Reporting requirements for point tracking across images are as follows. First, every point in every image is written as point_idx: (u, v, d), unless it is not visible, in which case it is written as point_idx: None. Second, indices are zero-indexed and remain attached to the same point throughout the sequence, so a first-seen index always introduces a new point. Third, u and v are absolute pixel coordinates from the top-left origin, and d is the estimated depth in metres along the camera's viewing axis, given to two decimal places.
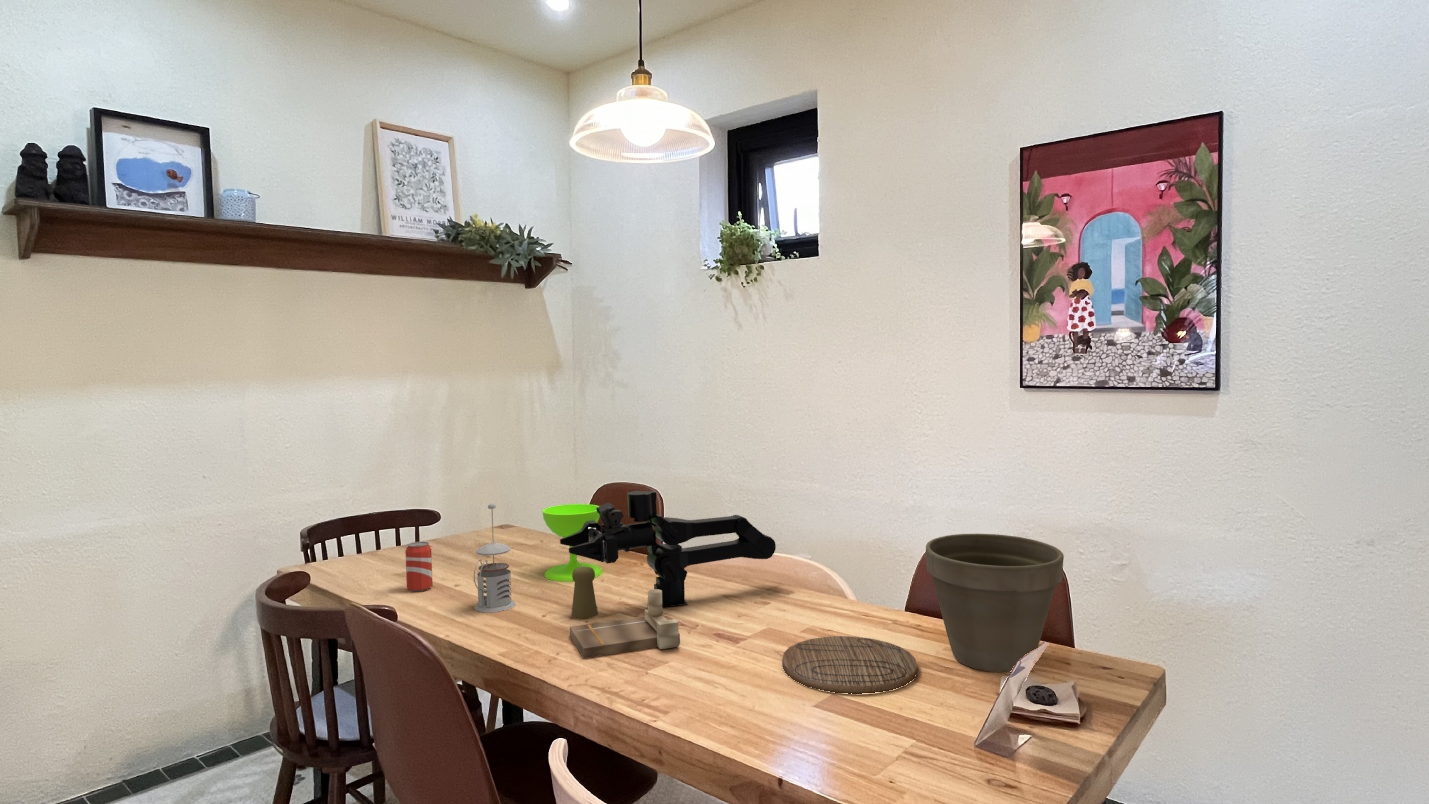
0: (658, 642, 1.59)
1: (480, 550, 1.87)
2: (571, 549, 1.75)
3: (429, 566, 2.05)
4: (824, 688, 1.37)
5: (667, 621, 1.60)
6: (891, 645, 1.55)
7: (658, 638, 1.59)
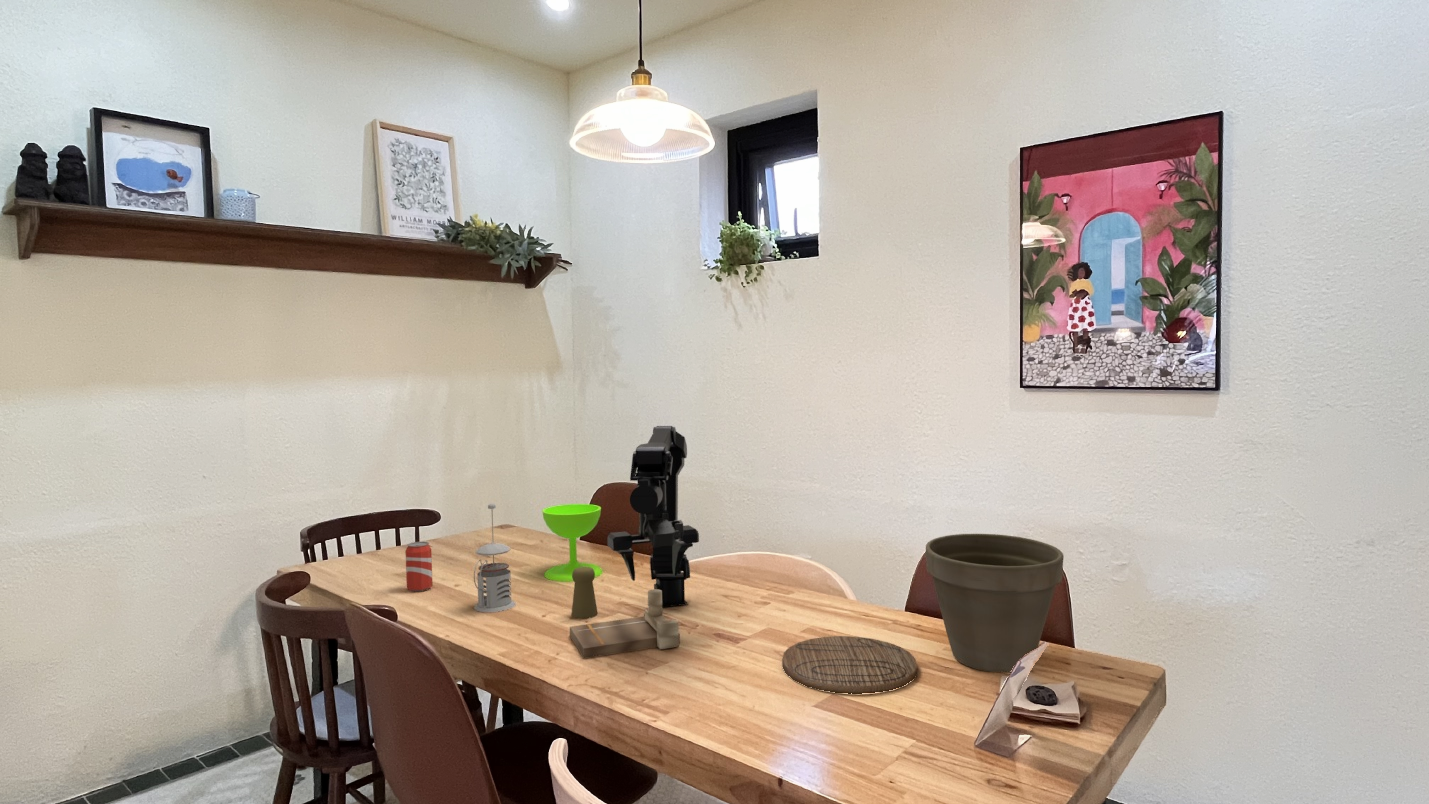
0: (658, 642, 1.59)
1: (480, 550, 1.87)
2: None
3: (429, 566, 2.05)
4: (824, 688, 1.37)
5: (667, 621, 1.60)
6: (891, 645, 1.55)
7: (658, 638, 1.59)
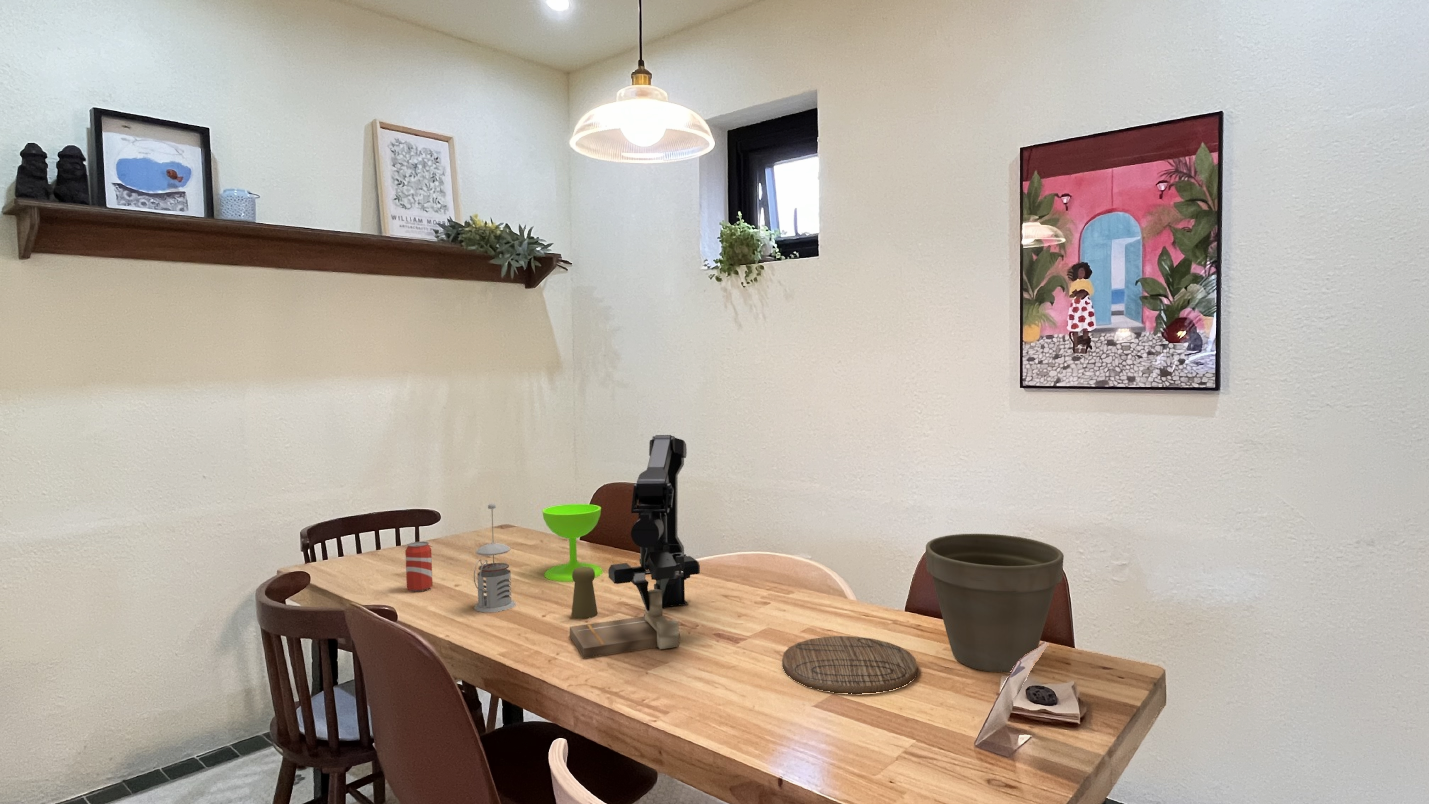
0: (658, 642, 1.59)
1: (480, 550, 1.87)
2: None
3: (429, 566, 2.05)
4: (824, 688, 1.37)
5: (667, 621, 1.60)
6: (891, 645, 1.55)
7: (658, 638, 1.59)
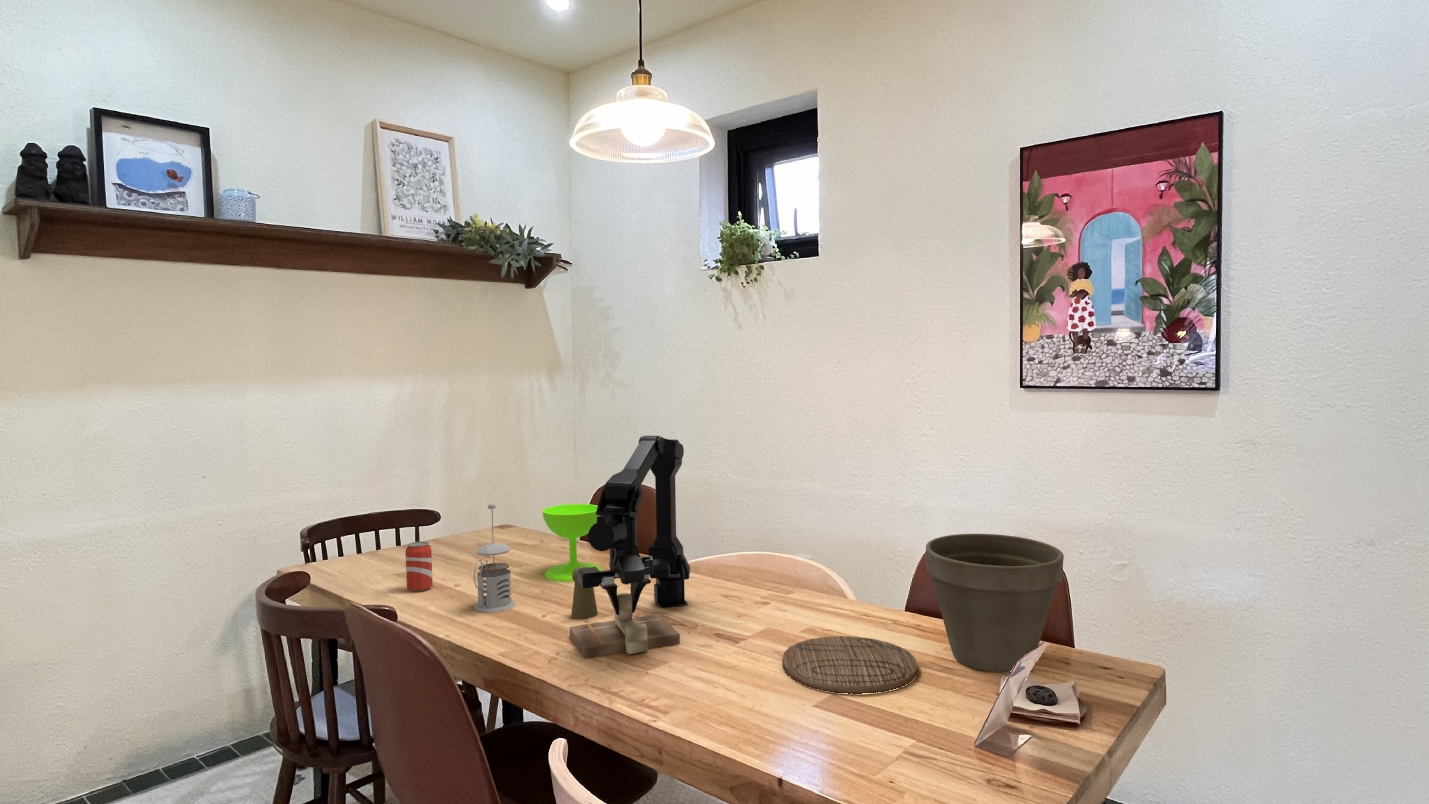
0: (626, 647, 1.57)
1: (480, 550, 1.87)
2: None
3: (429, 566, 2.05)
4: (824, 688, 1.37)
5: (636, 626, 1.58)
6: (891, 645, 1.55)
7: (626, 643, 1.57)
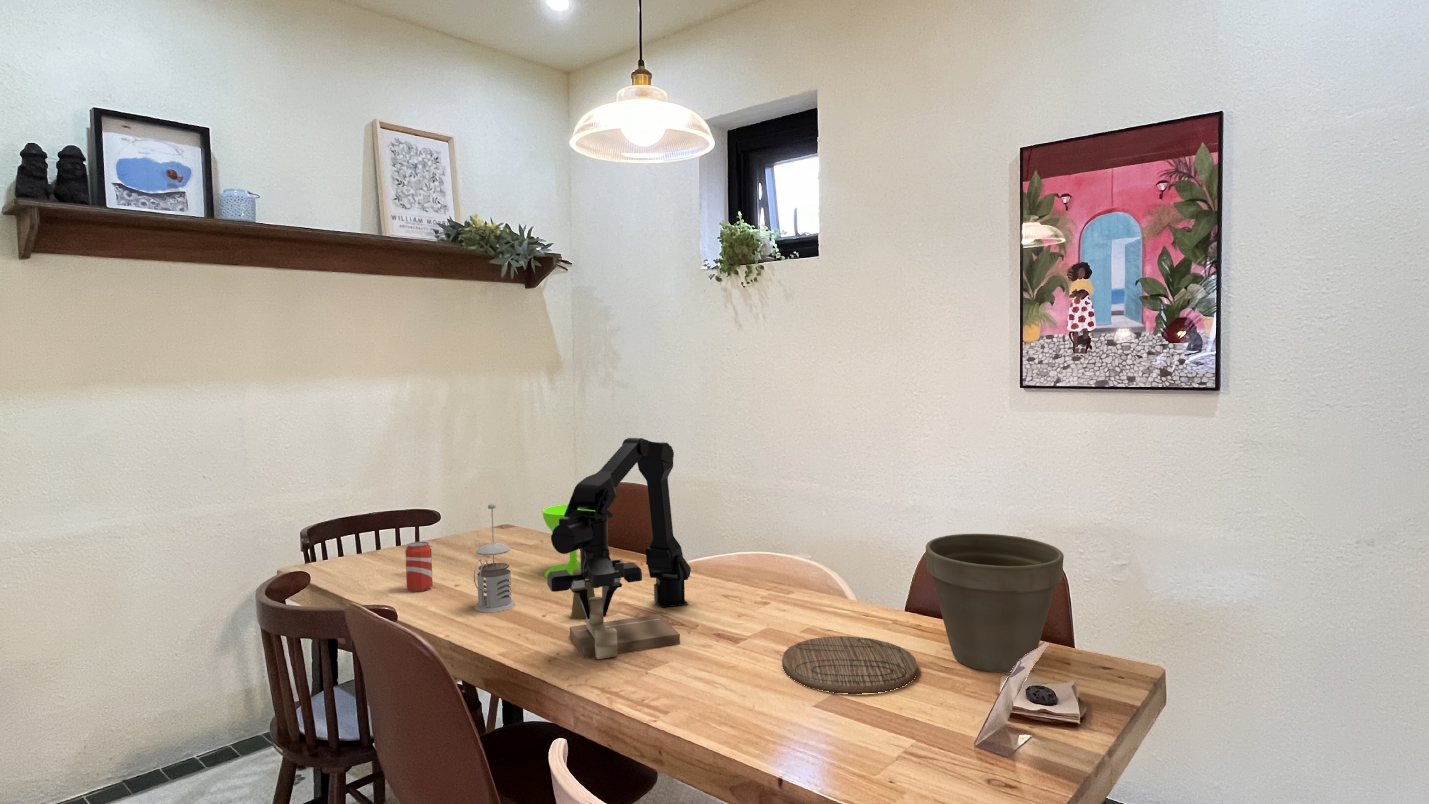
0: (596, 652, 1.54)
1: (480, 550, 1.87)
2: None
3: (429, 566, 2.05)
4: (824, 688, 1.37)
5: (605, 630, 1.55)
6: (891, 645, 1.55)
7: (596, 647, 1.54)
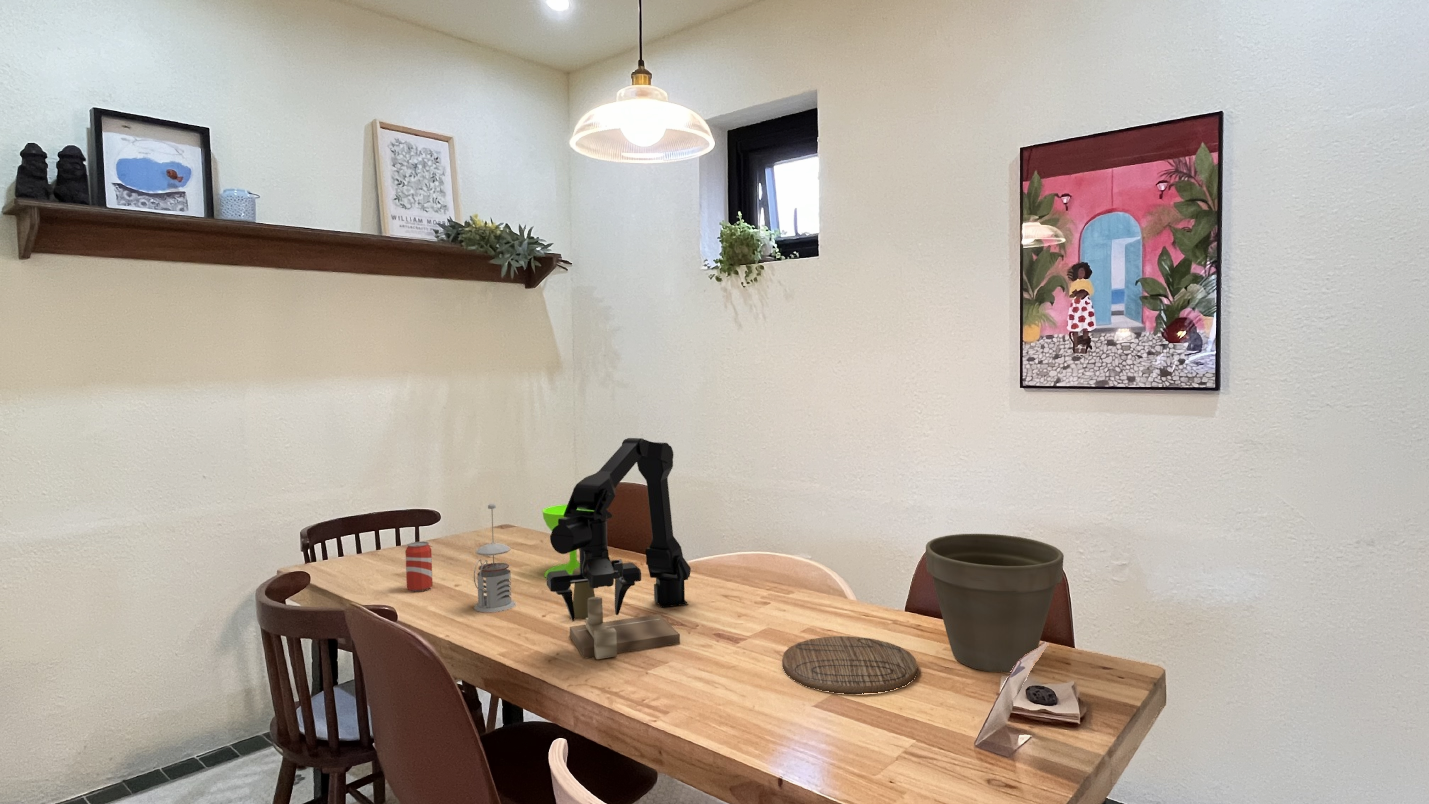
0: (595, 652, 1.54)
1: (480, 550, 1.87)
2: None
3: (429, 566, 2.05)
4: (824, 689, 1.37)
5: (605, 630, 1.55)
6: (891, 645, 1.55)
7: (595, 647, 1.54)
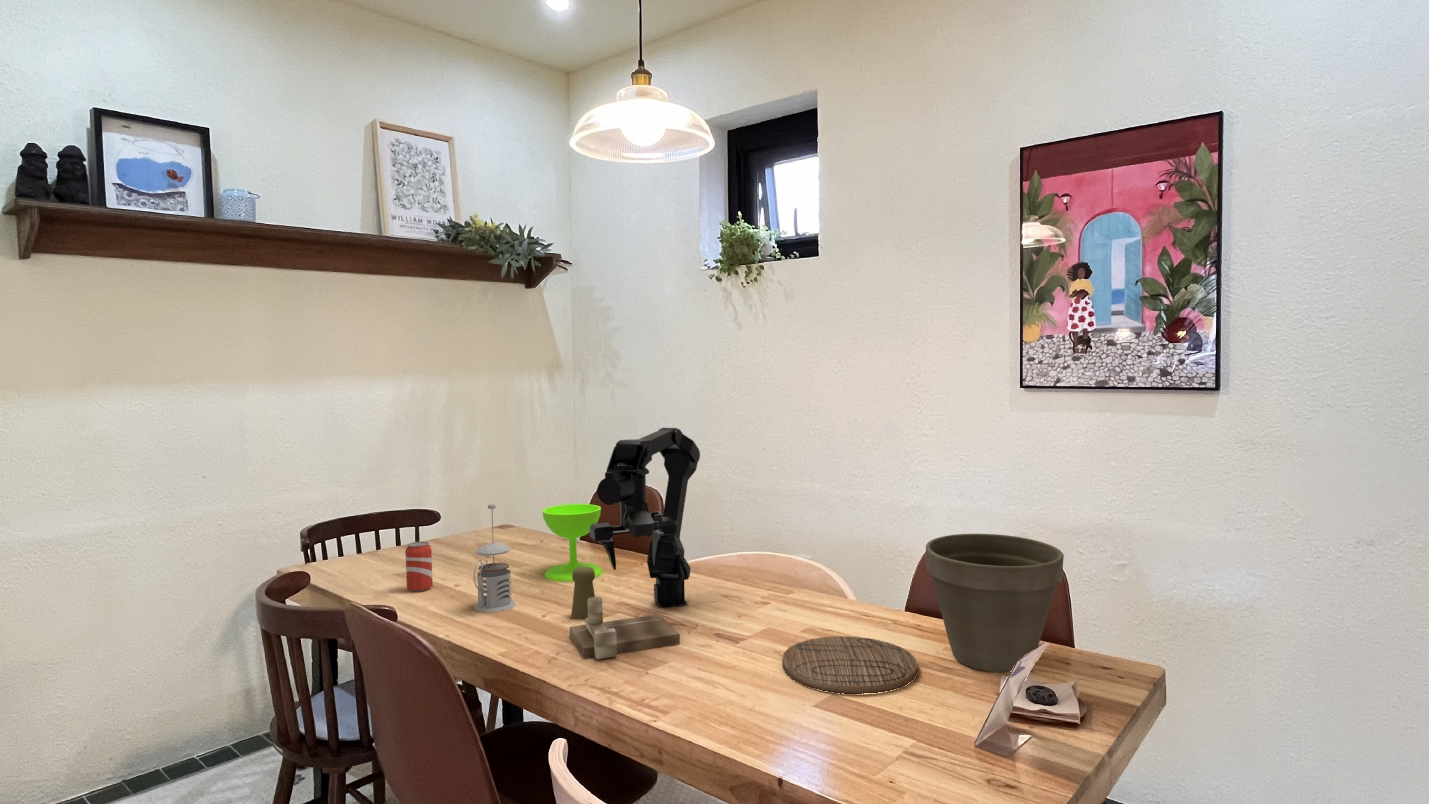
0: (595, 652, 1.54)
1: (480, 550, 1.87)
2: None
3: (429, 566, 2.05)
4: (824, 688, 1.37)
5: (605, 630, 1.55)
6: (891, 645, 1.55)
7: (595, 647, 1.54)
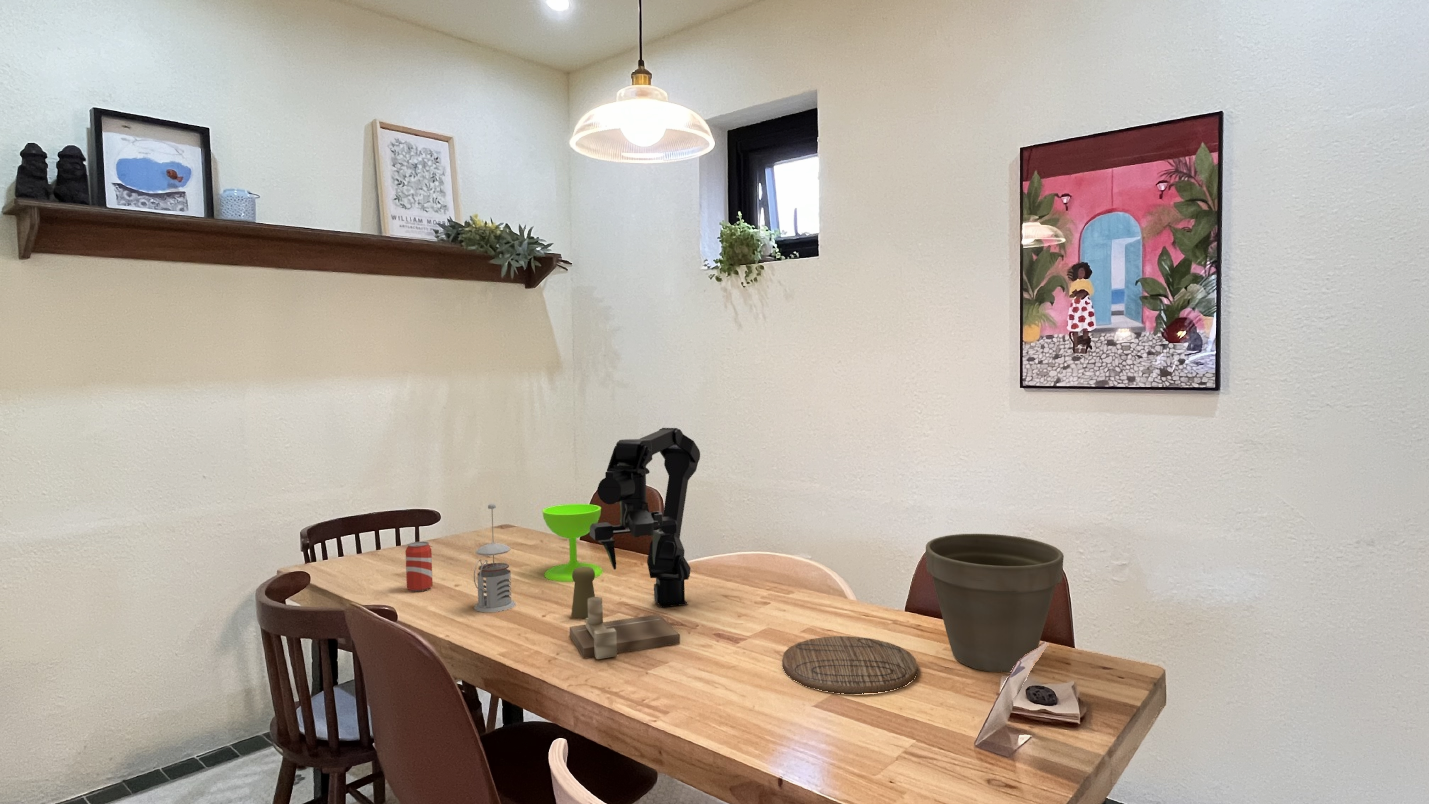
0: (595, 652, 1.54)
1: (480, 550, 1.87)
2: None
3: (429, 566, 2.05)
4: (824, 689, 1.37)
5: (605, 630, 1.55)
6: (891, 645, 1.55)
7: (595, 647, 1.54)
